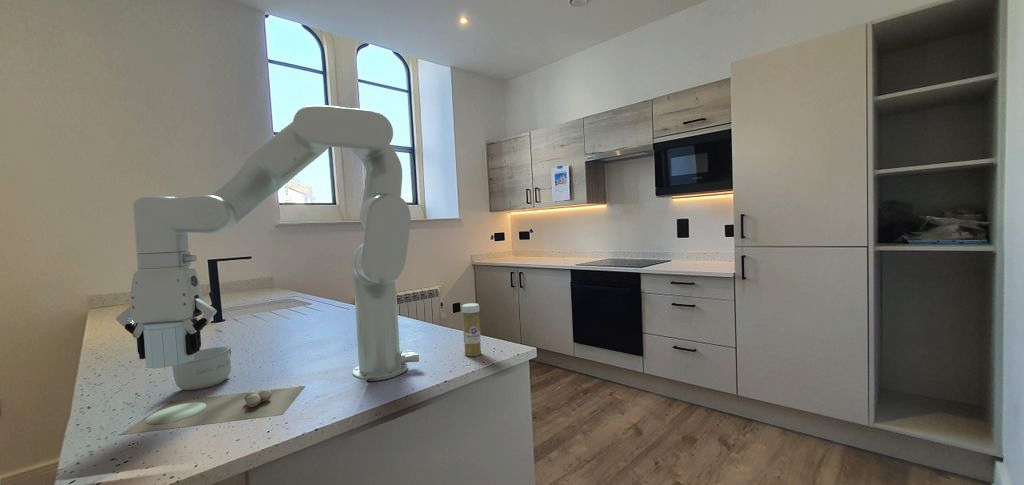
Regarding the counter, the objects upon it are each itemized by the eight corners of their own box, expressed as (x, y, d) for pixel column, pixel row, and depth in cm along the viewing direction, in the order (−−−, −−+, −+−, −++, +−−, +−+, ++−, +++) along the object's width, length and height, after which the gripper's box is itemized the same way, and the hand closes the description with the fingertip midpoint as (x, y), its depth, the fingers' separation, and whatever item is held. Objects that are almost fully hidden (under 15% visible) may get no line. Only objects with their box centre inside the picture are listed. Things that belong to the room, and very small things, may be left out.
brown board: (305, 389, 89) (304, 375, 88) (282, 418, 75) (281, 401, 75) (170, 405, 84) (169, 389, 83) (119, 439, 70) (117, 421, 70)
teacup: (200, 397, 87) (197, 361, 86) (160, 395, 89) (157, 360, 89) (254, 373, 100) (251, 342, 100) (218, 372, 103) (215, 341, 102)
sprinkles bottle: (469, 358, 104) (467, 306, 104) (461, 354, 108) (458, 304, 108) (484, 354, 107) (482, 304, 107) (476, 350, 111) (473, 302, 110)
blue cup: (201, 354, 81) (199, 316, 81) (180, 366, 74) (177, 324, 74) (161, 358, 80) (159, 318, 80) (136, 370, 73) (133, 327, 73)
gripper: (225, 258, 82) (230, 345, 82) (125, 263, 78) (132, 353, 79) (204, 261, 74) (211, 356, 75) (93, 266, 71) (101, 366, 72)
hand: (170, 354), depth 77 cm, fingers closed on blue cup, 7 cm apart
